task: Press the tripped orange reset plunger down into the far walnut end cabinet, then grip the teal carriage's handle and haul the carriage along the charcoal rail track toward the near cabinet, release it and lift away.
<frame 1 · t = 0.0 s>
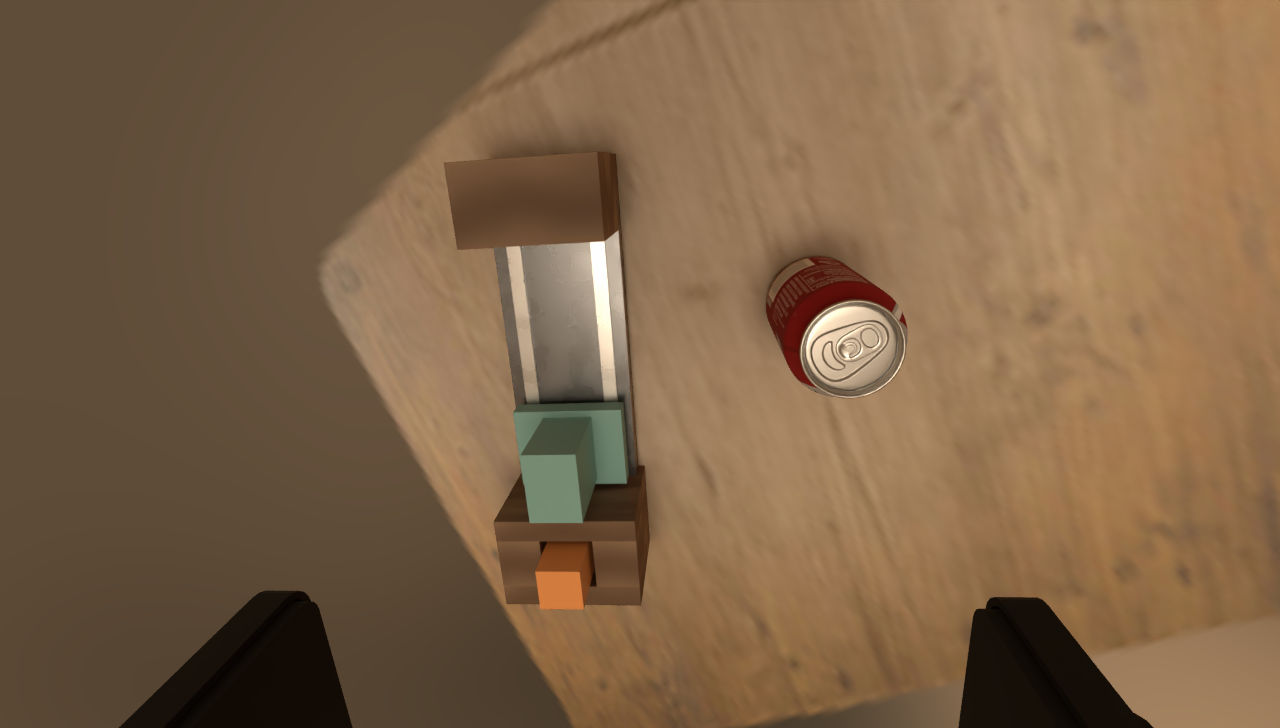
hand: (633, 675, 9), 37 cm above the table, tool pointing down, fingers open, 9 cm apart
reset plunger: (571, 553, 44), point 7 cm above the table, slide at 2.5 cm
rail track: (571, 344, 46), on the table
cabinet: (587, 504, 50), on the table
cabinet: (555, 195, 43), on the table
soda can: (811, 301, 44), on the table
carriage: (564, 462, 43), point 6 cm above the table, slide at 0.0 cm
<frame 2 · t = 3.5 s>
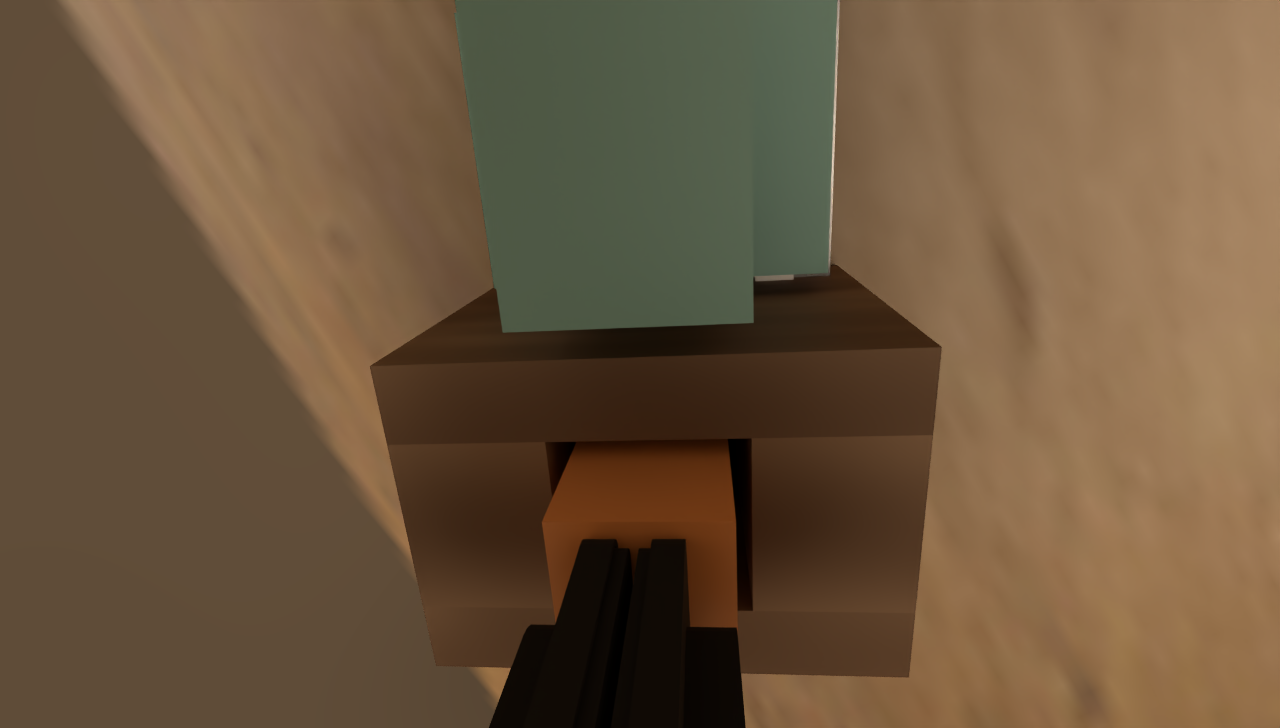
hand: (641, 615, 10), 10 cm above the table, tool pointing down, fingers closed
reset plunger: (659, 477, 13), point 6 cm above the table, slide at 1.7 cm, touching gripper
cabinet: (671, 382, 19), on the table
carriage: (638, 146, 11), point 6 cm above the table, slide at 0.0 cm
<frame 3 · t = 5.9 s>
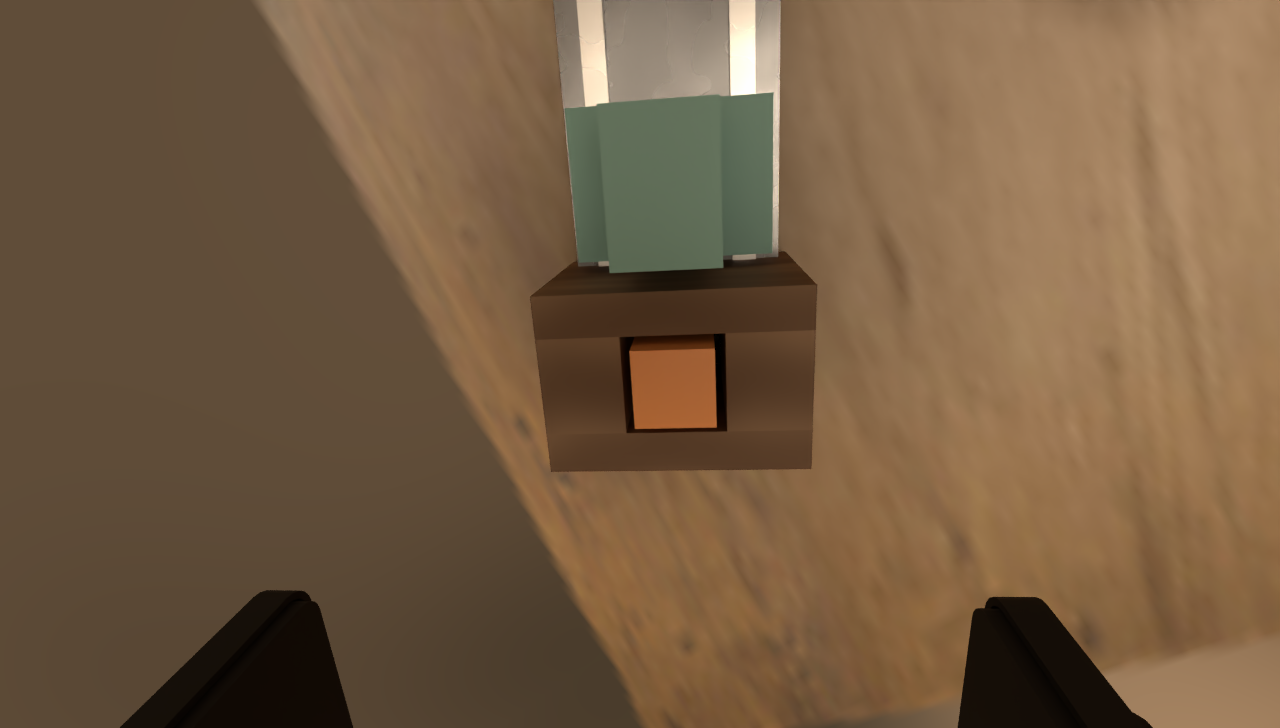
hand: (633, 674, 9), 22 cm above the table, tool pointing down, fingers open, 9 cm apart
reset plunger: (677, 356, 25), point 5 cm above the table, slide at 0.2 cm
rail track: (666, 5, 25), on the table
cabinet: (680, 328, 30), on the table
carriage: (667, 184, 22), point 6 cm above the table, slide at 0.0 cm
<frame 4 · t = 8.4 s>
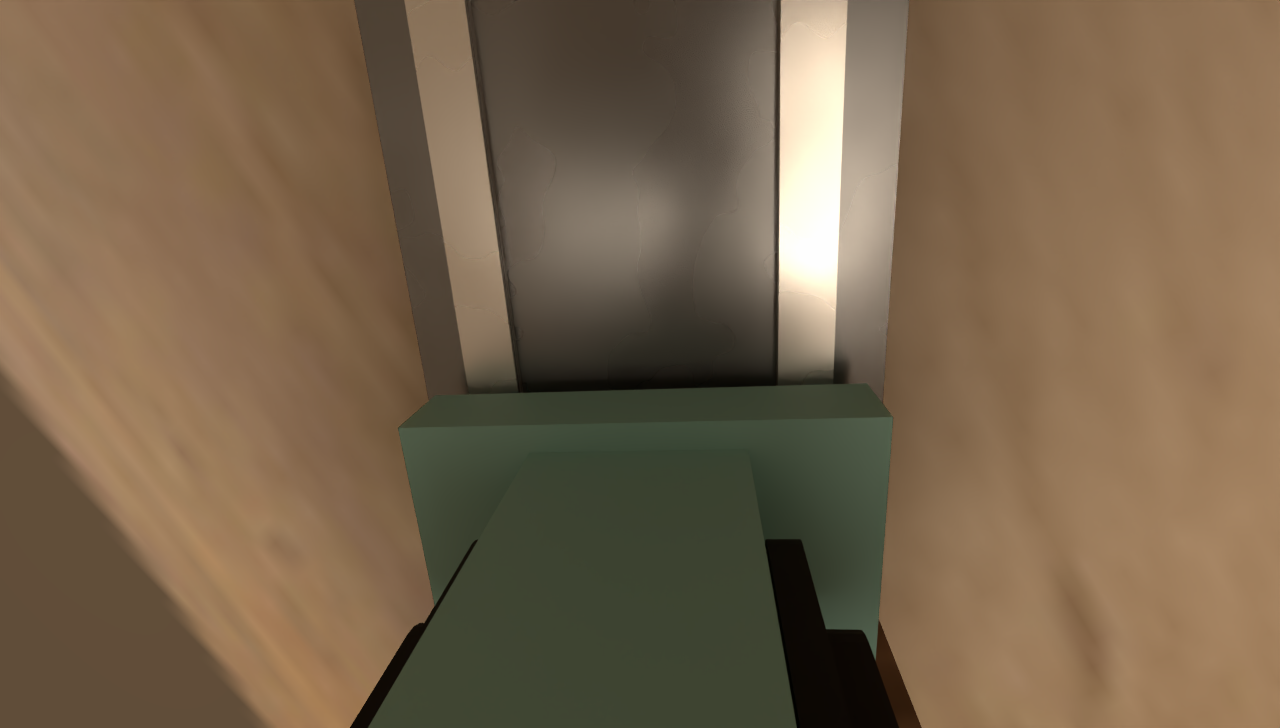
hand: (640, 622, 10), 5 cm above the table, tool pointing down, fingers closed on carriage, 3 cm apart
rail track: (639, 161, 12), on the table
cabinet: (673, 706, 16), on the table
carriage: (632, 683, 8), point 6 cm above the table, slide at 0.0 cm, touching gripper
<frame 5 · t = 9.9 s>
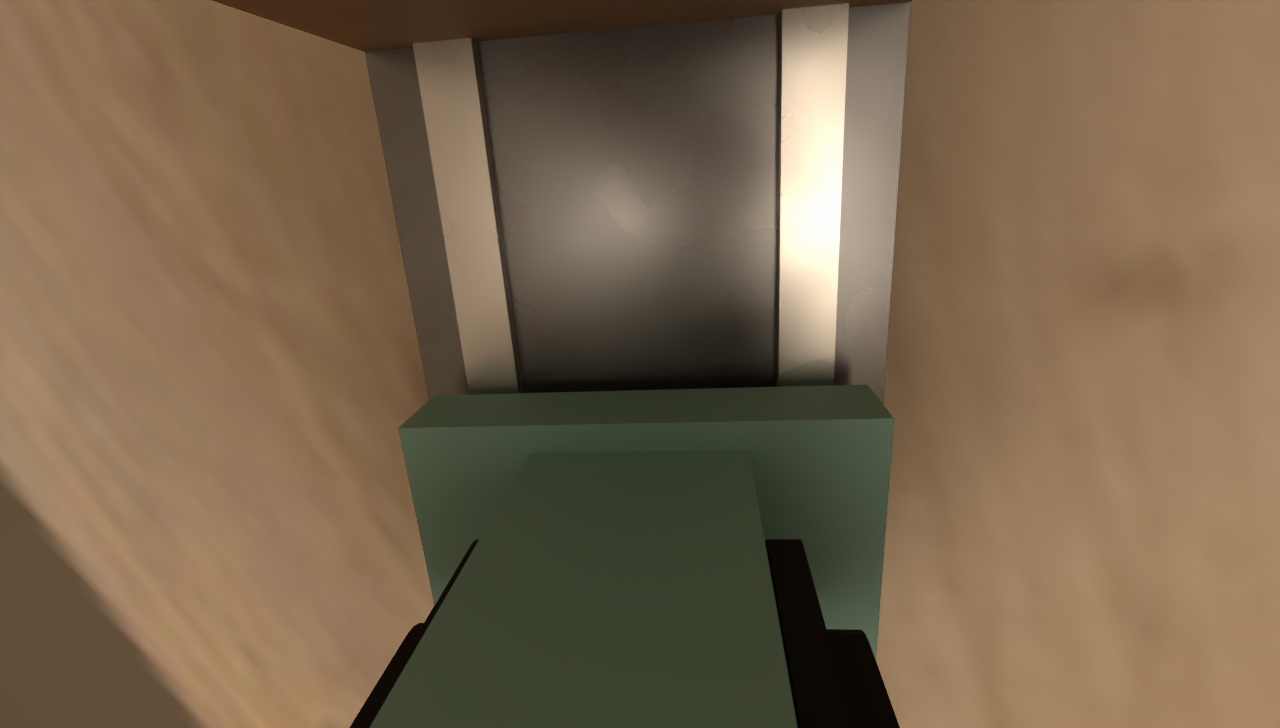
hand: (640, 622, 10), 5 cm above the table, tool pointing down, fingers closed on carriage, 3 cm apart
rail track: (657, 454, 14), on the table
carriage: (632, 684, 8), point 6 cm above the table, slide at 6.4 cm, touching gripper
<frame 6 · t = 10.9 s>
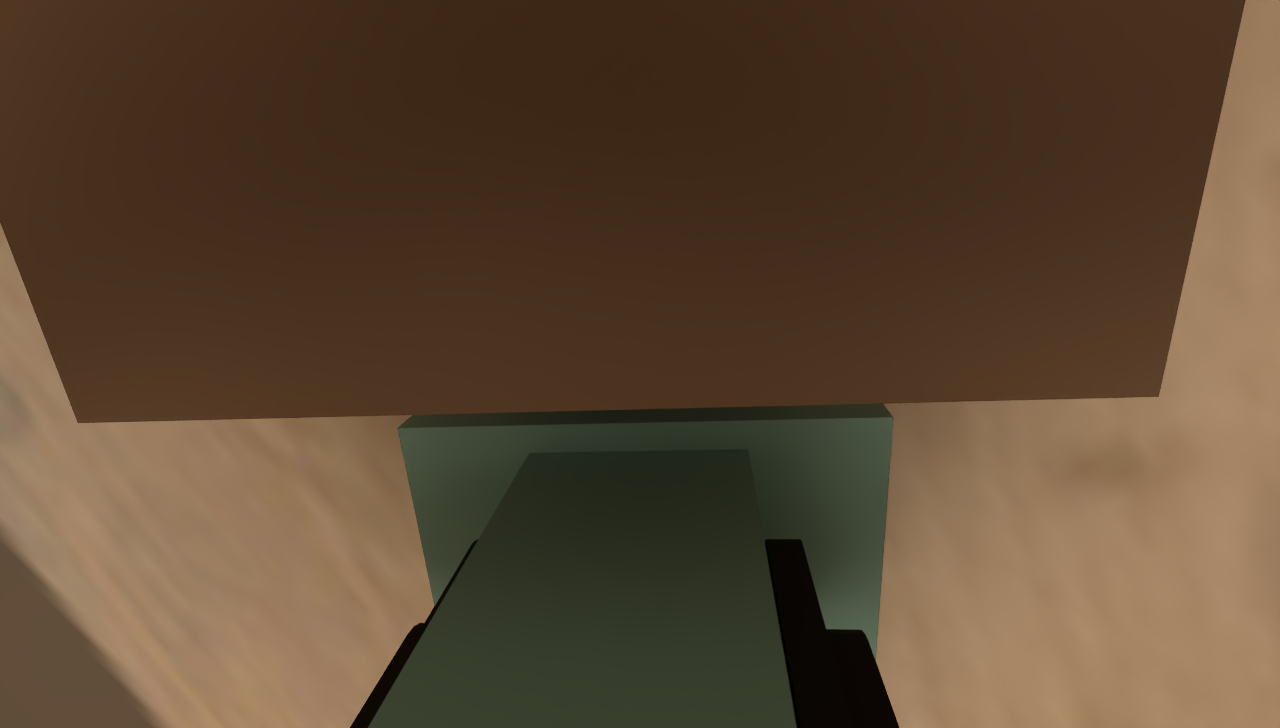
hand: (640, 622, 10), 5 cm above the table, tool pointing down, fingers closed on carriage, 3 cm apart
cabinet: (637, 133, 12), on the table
carriage: (632, 684, 8), point 6 cm above the table, slide at 10.5 cm, touching gripper
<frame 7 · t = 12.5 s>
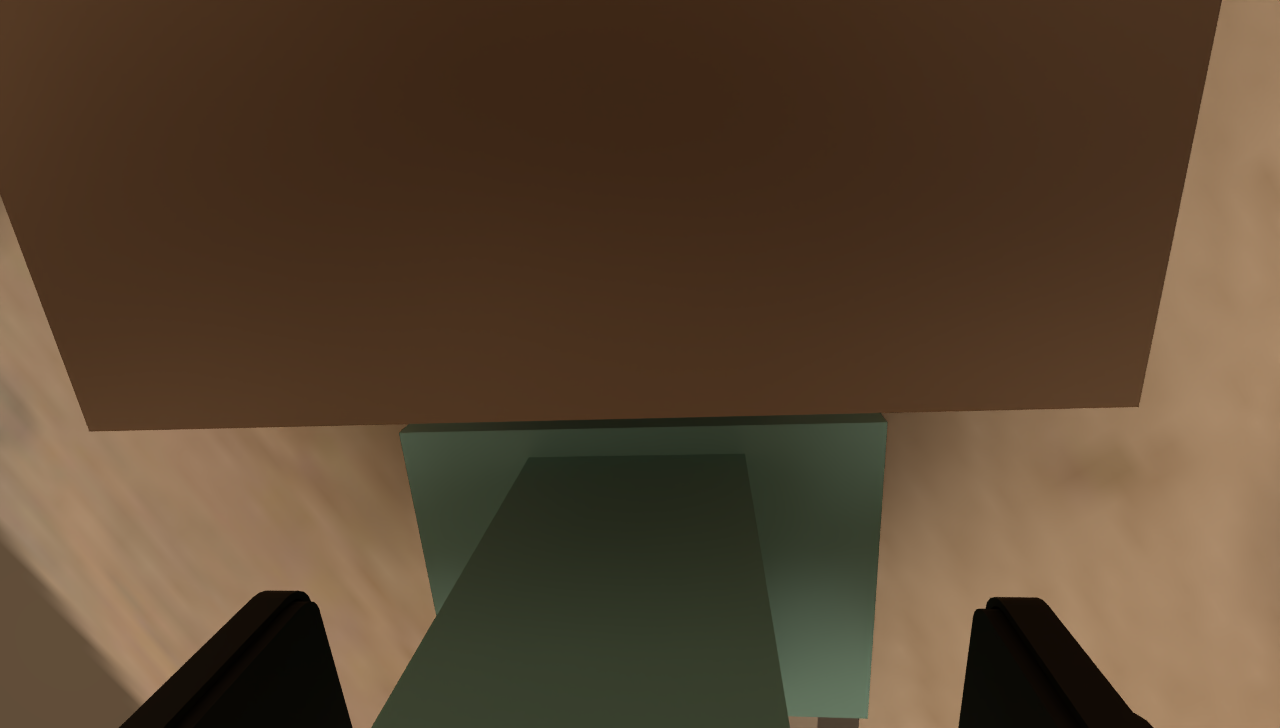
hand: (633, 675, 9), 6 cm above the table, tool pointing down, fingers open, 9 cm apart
rail track: (664, 602, 15), on the table
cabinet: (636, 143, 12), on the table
carriage: (630, 685, 9), point 6 cm above the table, slide at 10.5 cm
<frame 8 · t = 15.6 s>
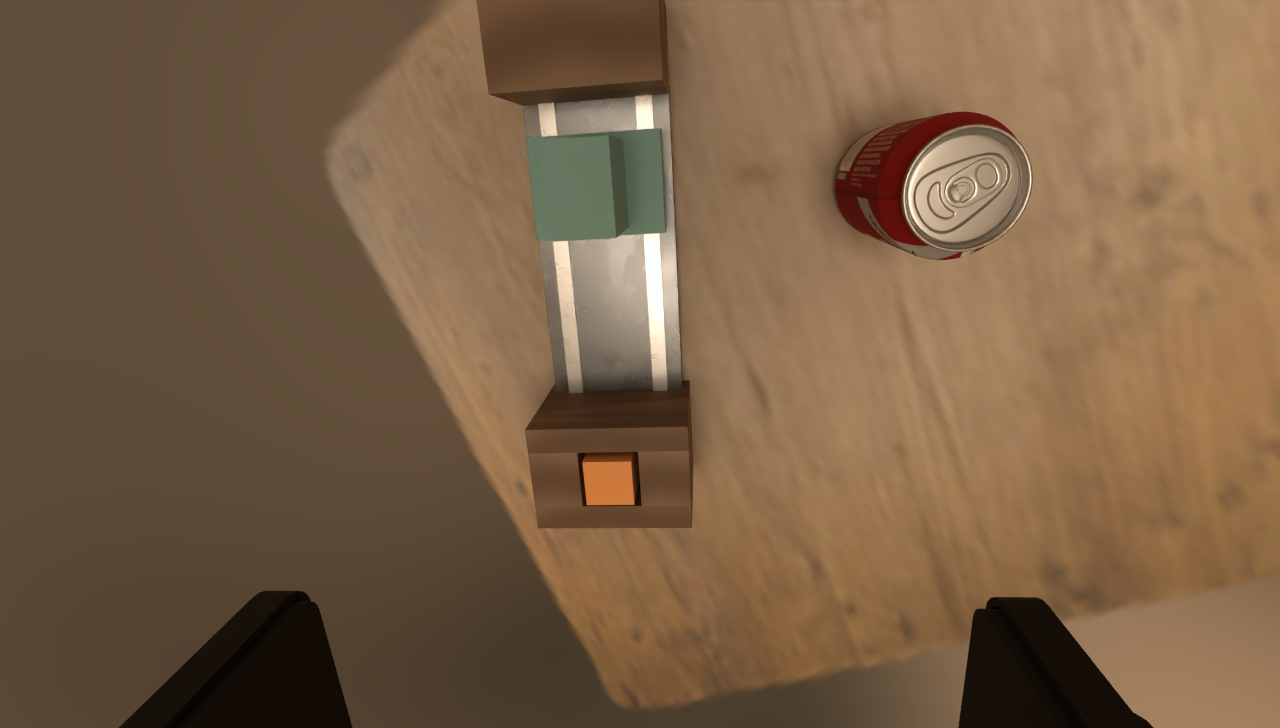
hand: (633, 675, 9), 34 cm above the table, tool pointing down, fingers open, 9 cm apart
reset plunger: (616, 454, 41), point 5 cm above the table, slide at 0.2 cm
rail track: (609, 237, 41), on the table
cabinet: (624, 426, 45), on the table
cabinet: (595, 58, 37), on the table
soda can: (886, 182, 38), on the table
carriage: (590, 187, 34), point 6 cm above the table, slide at 10.5 cm
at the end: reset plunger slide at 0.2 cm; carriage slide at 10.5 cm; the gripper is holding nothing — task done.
